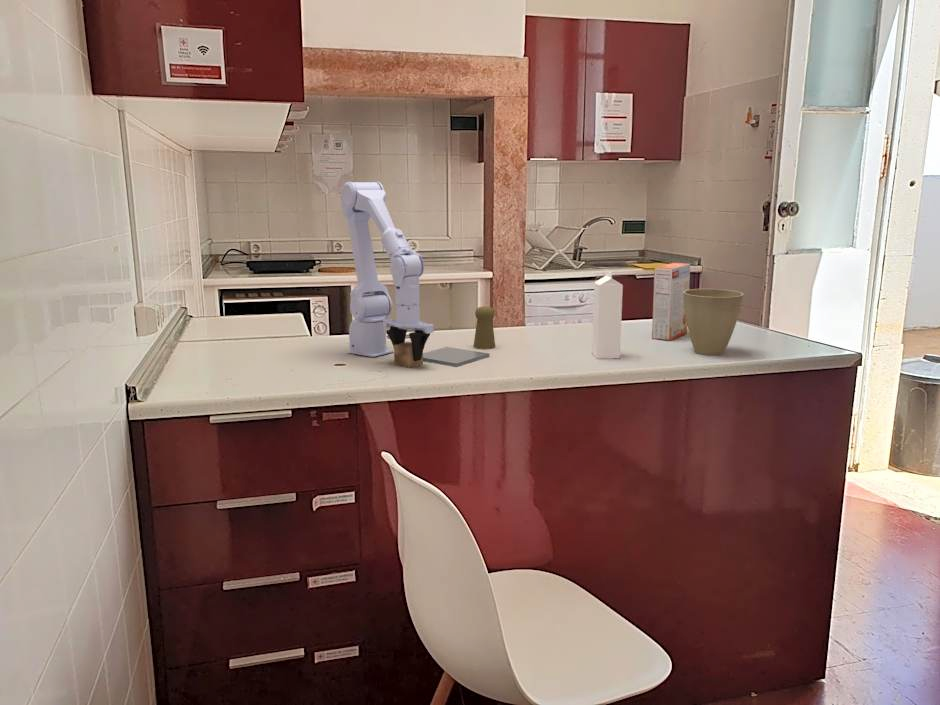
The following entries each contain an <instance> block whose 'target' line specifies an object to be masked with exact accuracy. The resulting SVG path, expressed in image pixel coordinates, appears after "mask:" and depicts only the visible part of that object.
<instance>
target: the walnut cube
mask: <svg viewBox="0 0 940 705" xmlns="http://www.w3.org/2000/svg"><path fill="white" fill-rule="evenodd" d="M393 351H394V352H393V360H394V364H393V365H394V366H397V365H398V366H399V367H403V366H405V367H404V368H408V367H411V368H414V367H417V366H416V365H418V366H420V364H421V365H423V364H424V361H423V353H424V352H423V353H422V357H421V360H419V361H414V360H413V349H412V343H411V341H405V343H400V344H396V345H394V347H393ZM413 366H414V367H413Z"/></svg>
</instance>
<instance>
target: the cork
mask: <svg viewBox="0 0 940 705" xmlns="http://www.w3.org/2000/svg"><path fill="white" fill-rule="evenodd" d="M475 318H476V324H475V325H476V327H475V334H474V339H473V340H474V341H473V348H475V349H480V350H491V349H495V348H496V341H495V340H496V339H495V333H494V325H493V324H494V323H493V319H494V318H495V310H494V308H493V307H490V306H479V307H477V308H476V309H475Z"/></svg>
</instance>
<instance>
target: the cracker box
mask: <svg viewBox="0 0 940 705" xmlns="http://www.w3.org/2000/svg"><path fill="white" fill-rule="evenodd" d="M653 272H654V273H653V274H654V275H653V276H654V277H653V296H652V297H653V302H652V306H653V307H652V328H651V329H652V331H651V339H652V340H658V339H661V340H662V341H672V340H674V339H677V338H679V337H681V336H683V335H686V334H687V333H688V326H687V321H686V315H685V307H684V297H683V291H685V290H690V279H691V278H690V277H691V263H687V262H686V263H685V262H684V263H683V262H672V263H666V264H664V265H658V266H656V267H654V270H653ZM661 340H660V341H661Z"/></svg>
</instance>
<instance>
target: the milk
mask: <svg viewBox="0 0 940 705" xmlns="http://www.w3.org/2000/svg"><path fill="white" fill-rule="evenodd" d="M593 285H594V287H593V315H592V341H591V342H592V343H591V344H592V345H591V347H592V348H591V354H592V355H593V356H594V358H596V359H597V360H598V359H600V360H603V359H604V360H605V359H607V360H608V359H613V358H617V359H621V358H620V357H621V337H622V336H621V335H622V314H623V313H622V312H623V311H622V310H623V289H624V285H623V284H622V283H620V282H619V281H617V280H615V279H614V278H613V274H612V271H609V270H608V269H606V270H605V275H604V276H603V277H601V278H600V279H597V280H596V281H594V284H593ZM613 360H614V359H613Z"/></svg>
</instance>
